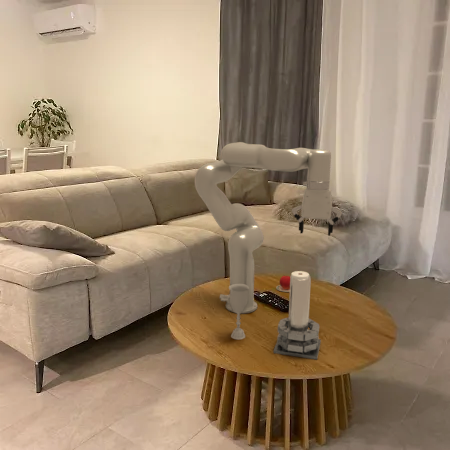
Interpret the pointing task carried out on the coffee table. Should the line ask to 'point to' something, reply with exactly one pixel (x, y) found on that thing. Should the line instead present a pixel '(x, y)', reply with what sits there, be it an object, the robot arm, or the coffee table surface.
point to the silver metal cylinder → (299, 303)
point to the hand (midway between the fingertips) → (315, 233)
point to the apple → (284, 284)
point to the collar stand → (298, 349)
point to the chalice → (238, 306)
